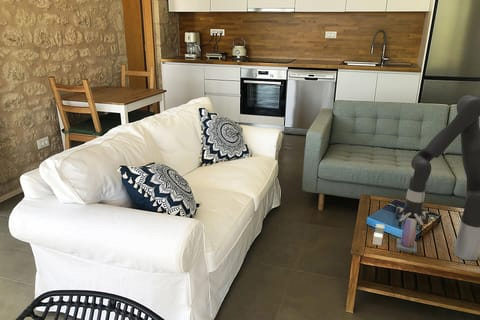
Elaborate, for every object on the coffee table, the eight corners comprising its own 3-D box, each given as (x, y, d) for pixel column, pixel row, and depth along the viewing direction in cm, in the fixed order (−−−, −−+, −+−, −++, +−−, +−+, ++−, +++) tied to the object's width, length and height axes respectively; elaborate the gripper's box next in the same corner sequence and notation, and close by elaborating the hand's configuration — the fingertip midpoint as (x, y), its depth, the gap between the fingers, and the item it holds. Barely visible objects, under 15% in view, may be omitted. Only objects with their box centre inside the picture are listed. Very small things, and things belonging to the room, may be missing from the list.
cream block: (381, 241, 193) (382, 233, 192) (381, 245, 190) (382, 237, 188) (373, 240, 194) (374, 232, 193) (372, 244, 191) (373, 236, 189)
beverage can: (399, 245, 187) (404, 218, 183) (401, 240, 192) (405, 212, 188) (413, 248, 185) (418, 220, 180) (414, 243, 190) (419, 215, 185)
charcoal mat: (416, 243, 192) (416, 241, 191) (416, 253, 184) (417, 251, 183) (396, 240, 195) (396, 238, 194) (396, 249, 187) (396, 247, 186)
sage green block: (383, 232, 202) (384, 225, 200) (383, 236, 198) (384, 228, 197) (375, 231, 203) (376, 223, 202) (374, 234, 200) (375, 227, 198)
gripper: (431, 197, 181) (425, 228, 187) (398, 192, 186) (393, 222, 192) (432, 204, 175) (426, 235, 180) (398, 198, 180) (393, 229, 185)
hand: (409, 229), depth 186 cm, fingers open, 8 cm apart
